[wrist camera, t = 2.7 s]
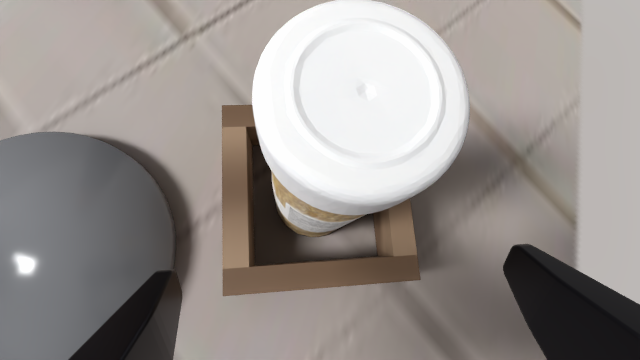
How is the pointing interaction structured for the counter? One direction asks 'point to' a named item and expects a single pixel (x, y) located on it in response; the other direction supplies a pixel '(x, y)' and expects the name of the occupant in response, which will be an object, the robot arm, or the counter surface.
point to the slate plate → (73, 240)
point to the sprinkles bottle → (356, 112)
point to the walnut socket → (248, 278)
